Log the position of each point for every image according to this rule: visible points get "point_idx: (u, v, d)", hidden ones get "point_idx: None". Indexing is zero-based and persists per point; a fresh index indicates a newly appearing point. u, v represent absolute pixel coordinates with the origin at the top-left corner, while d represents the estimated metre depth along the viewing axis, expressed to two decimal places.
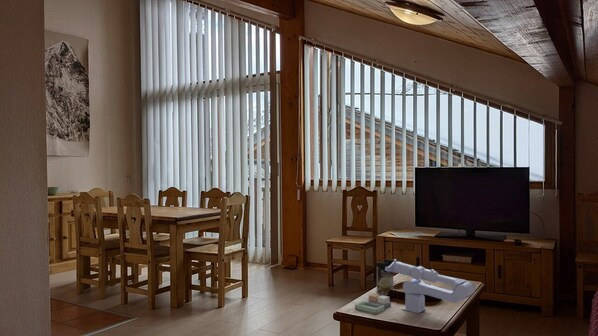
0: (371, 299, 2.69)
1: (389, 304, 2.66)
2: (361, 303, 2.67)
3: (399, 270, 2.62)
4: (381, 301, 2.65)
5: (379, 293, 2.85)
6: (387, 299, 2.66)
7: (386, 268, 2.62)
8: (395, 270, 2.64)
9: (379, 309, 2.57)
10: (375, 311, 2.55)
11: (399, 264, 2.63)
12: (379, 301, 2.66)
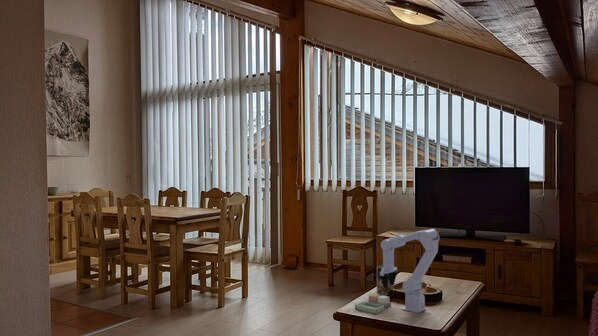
0: (371, 299, 2.69)
1: (389, 304, 2.66)
2: (361, 303, 2.67)
3: (386, 263, 2.68)
4: (381, 301, 2.65)
5: (379, 293, 2.85)
6: (387, 299, 2.66)
7: (380, 274, 2.65)
8: (387, 267, 2.68)
9: (379, 309, 2.57)
10: (375, 311, 2.55)
11: (383, 263, 2.70)
12: (379, 301, 2.66)
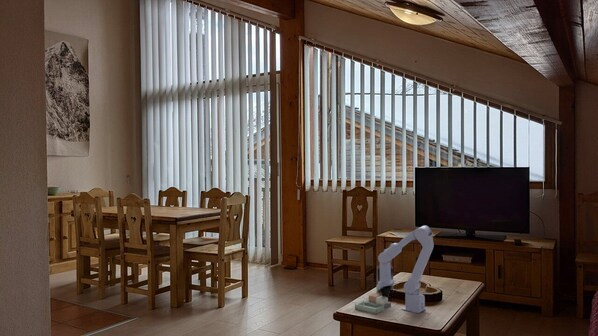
0: (371, 299, 2.69)
1: (389, 304, 2.66)
2: (361, 303, 2.67)
3: (383, 276, 2.65)
4: (380, 302, 2.64)
5: (379, 293, 2.85)
6: (386, 300, 2.65)
7: (377, 287, 2.63)
8: (384, 280, 2.65)
9: (379, 309, 2.57)
10: (375, 311, 2.55)
11: None
12: (378, 302, 2.65)
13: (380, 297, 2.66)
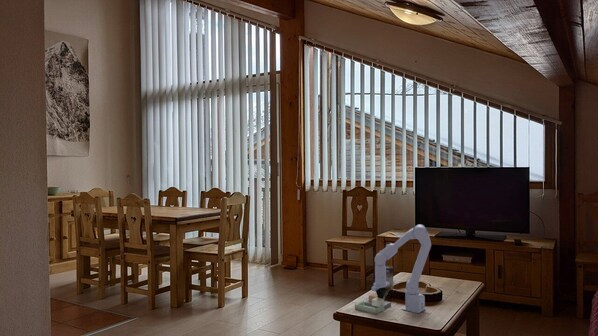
0: (371, 299, 2.69)
1: (389, 304, 2.66)
2: (361, 303, 2.67)
3: (378, 277, 2.62)
4: (375, 304, 2.61)
5: None
6: (381, 301, 2.62)
7: (372, 289, 2.59)
8: (379, 282, 2.62)
9: (379, 309, 2.57)
10: (375, 311, 2.55)
11: (375, 278, 2.65)
12: (373, 304, 2.62)
13: (376, 299, 2.63)
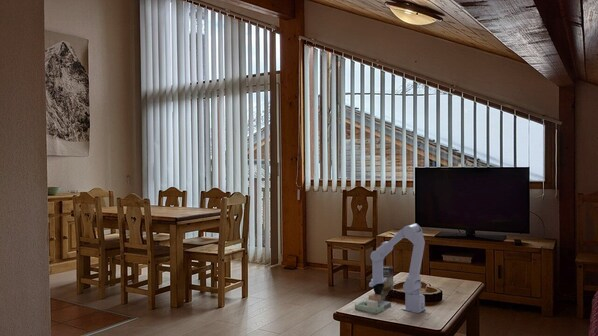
0: (371, 299, 2.69)
1: (389, 304, 2.66)
2: (361, 303, 2.67)
3: (375, 274, 2.70)
4: None
5: None
6: (375, 305, 2.58)
7: (370, 285, 2.67)
8: (377, 278, 2.70)
9: (379, 309, 2.57)
10: (375, 311, 2.55)
11: None
12: None
13: (369, 306, 2.59)
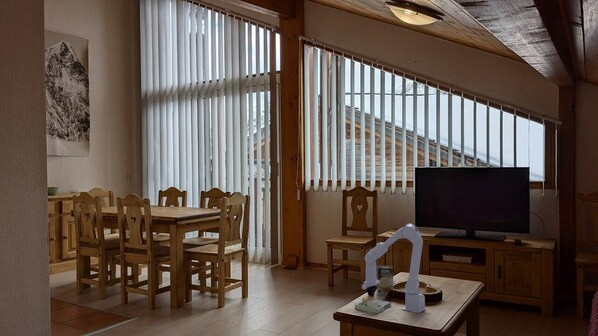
0: (365, 302, 2.65)
1: (389, 304, 2.66)
2: (361, 303, 2.67)
3: (368, 276, 2.65)
4: None
5: (379, 293, 2.85)
6: (375, 305, 2.58)
7: (362, 287, 2.62)
8: (370, 281, 2.65)
9: (379, 309, 2.57)
10: (375, 311, 2.55)
11: None
12: None
13: (369, 306, 2.59)
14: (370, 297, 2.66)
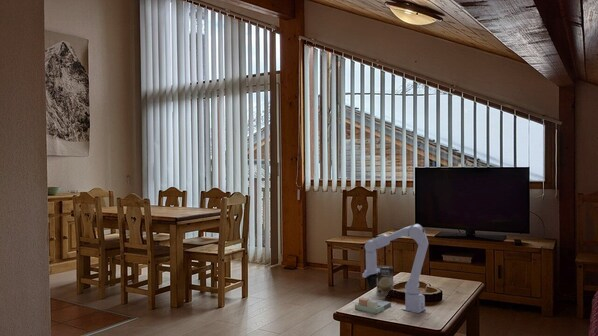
0: None
1: (389, 304, 2.66)
2: None
3: (369, 264, 2.65)
4: None
5: (379, 293, 2.85)
6: (375, 305, 2.58)
7: (363, 275, 2.62)
8: (370, 269, 2.65)
9: (379, 309, 2.57)
10: (375, 311, 2.55)
11: (366, 265, 2.68)
12: None
13: (369, 306, 2.59)
14: (363, 302, 2.62)
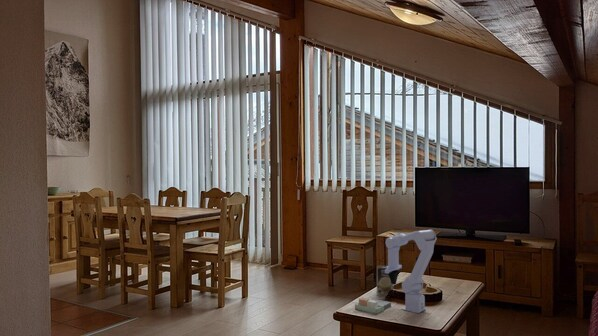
0: None
1: (389, 304, 2.66)
2: None
3: (391, 260, 2.71)
4: None
5: (379, 293, 2.85)
6: (375, 305, 2.58)
7: (386, 271, 2.68)
8: (392, 265, 2.70)
9: (379, 309, 2.57)
10: (375, 311, 2.55)
11: (388, 261, 2.73)
12: None
13: (369, 306, 2.59)
14: (363, 302, 2.62)
